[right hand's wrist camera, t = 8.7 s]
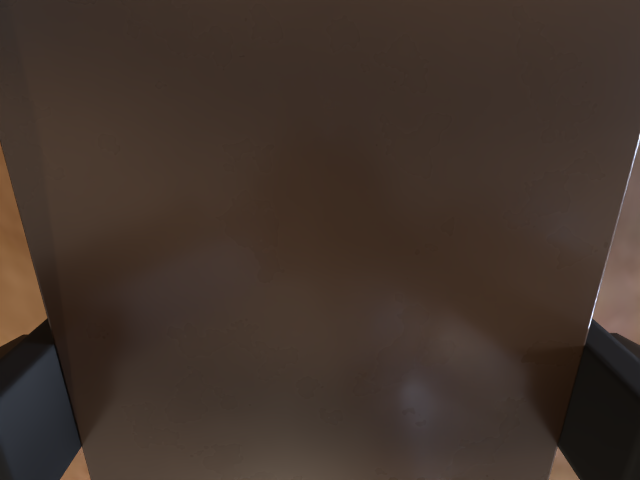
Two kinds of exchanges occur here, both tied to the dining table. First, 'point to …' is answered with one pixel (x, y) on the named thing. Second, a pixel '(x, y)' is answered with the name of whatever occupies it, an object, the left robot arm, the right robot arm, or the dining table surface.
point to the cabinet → (319, 225)
